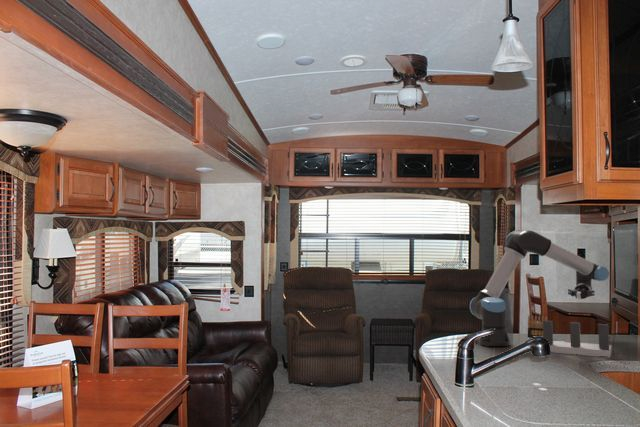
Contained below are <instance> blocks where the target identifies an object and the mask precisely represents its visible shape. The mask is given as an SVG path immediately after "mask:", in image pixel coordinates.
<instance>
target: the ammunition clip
mask: <svg viewBox="0 0 640 427" xmlns="http://www.w3.org/2000/svg"><path fill="white" fill-rule="evenodd" d="M527 319H528V320H527V337H528V338H534V337H533V336H543V320H546V321H549V319H548V316H547V315H546V316H545V318H544V315H538V317H537V315H535V317H534V315H533V314H532V315H530V314H528V318H527Z"/></svg>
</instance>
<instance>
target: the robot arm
mask: <svg viewBox="0 0 640 427" xmlns="http://www.w3.org/2000/svg"><path fill="white" fill-rule="evenodd" d="M505 243H506V244H505V246H504V248H503V249H504V254H503V256H502V257H501V259H500V261H499V263H498V265H497V266H496V268H495V269H494V272H493V273H492V275H491V276H490V279H489V280H488V282H487V284H486V286H485V288H483V289H482V290H479V292H478V294H477V296H475V297H473V298H472V299H471V300H470V302H469V311H470V313H471V314H472V315H473V316H474V317H475V318H476V319H479V320H481V327H482V329H481V331H482V330H485V329H490V328H496V331H495V333H494V334H491V335H488V336H485V337H481V338H480V337H479V339H478V344H479V345H480V346H483V345H484V346H483V347H488V346H494V347H493V348H496V347H495V346H507V347H509V346H510V345H511V340H510V337H509V334H508V332H507V328H506V327H507V322H506V316H507V314H506V310H507V309H506V302H505V300H504V299H502V298H500V297H501V294H502V293H503V291H504V289H505V287H506V286H507V283H508V282H509V280H510V278H511V277H512V275H513V273H514V271H515V269H516V268H517V265H518V264H519V262H520V260H522V259H525V257H526V256H527V254H528V253H532V254H536V255H539V256H541V257H544V256H545V257H547V258H549V259H551V260H553V261H556V262H557V263H560V264H562V265H563V266H565V267H568V268H570V269H572V270H574V271H575V277H576V278H575V279H576V280H575V284H576V286H575V287H574V288H573V289H569V288H568V289H567V295H569V296H571V297H575V299H579V300H584V299H587V298H589V297H595V295H596V294H595V290H593V287H592V280H593V281H601V282H602V281H603V282H604V281H606V280H607V279H608V278H609V276H610V271H609V269H608V268H607V267H605V266H602V265H599V264H596V263H594V262H592V261H590V260H588V259H586V258H584V257H581V256H580V255H577V254H575V253H574V252H571V251H570V250H567V249H565V248H563V247H562V246H559V245H557V244H555V243H553V242H552V240H551V239H549V238H547V237H546V236H543V235H541V234H540V233H538V232H535V231H534V230H528V229H526V230H523V229H517V230H513V231H512V232H511V231H510V232H509V233H508V235H507V236H506V239H505ZM508 345H509V346H508Z"/></svg>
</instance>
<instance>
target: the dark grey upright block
mask: <svg viewBox="0 0 640 427" xmlns="http://www.w3.org/2000/svg"><path fill="white" fill-rule="evenodd" d="M569 330H570V332H569V334H570V342H571V346H574V347H580V346H581V344H580V343H581V324H580V322H576V321H575V322H574V321H573V322H572V321H570V322H569Z"/></svg>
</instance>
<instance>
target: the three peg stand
mask: <svg viewBox="0 0 640 427" xmlns="http://www.w3.org/2000/svg"><path fill="white" fill-rule="evenodd" d="M597 326H598V327H597V328H598V343H587V342H580V344H581V346H580V347H574V346H571V341H567V340H566V341H563V340H562V341H561V340H554V331H553V330H554V327H553V320H548V321H546V320H545V319H544V320H543V337H544V338H545V339H547V341H548V342H549V344H550V347H551V352H550V353H557V354H564V355H565V354H568V355H576V354H578V355H577V356H588V357H589V356H590V357H591V356H592V357H599V356H608V357H607V358H611V357H612V352H613V351H612V345H611V344H610V332H609V324H608V323H604V324H603V323H598V324H597ZM611 351H612V352H611ZM610 356H611V357H610Z"/></svg>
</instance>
